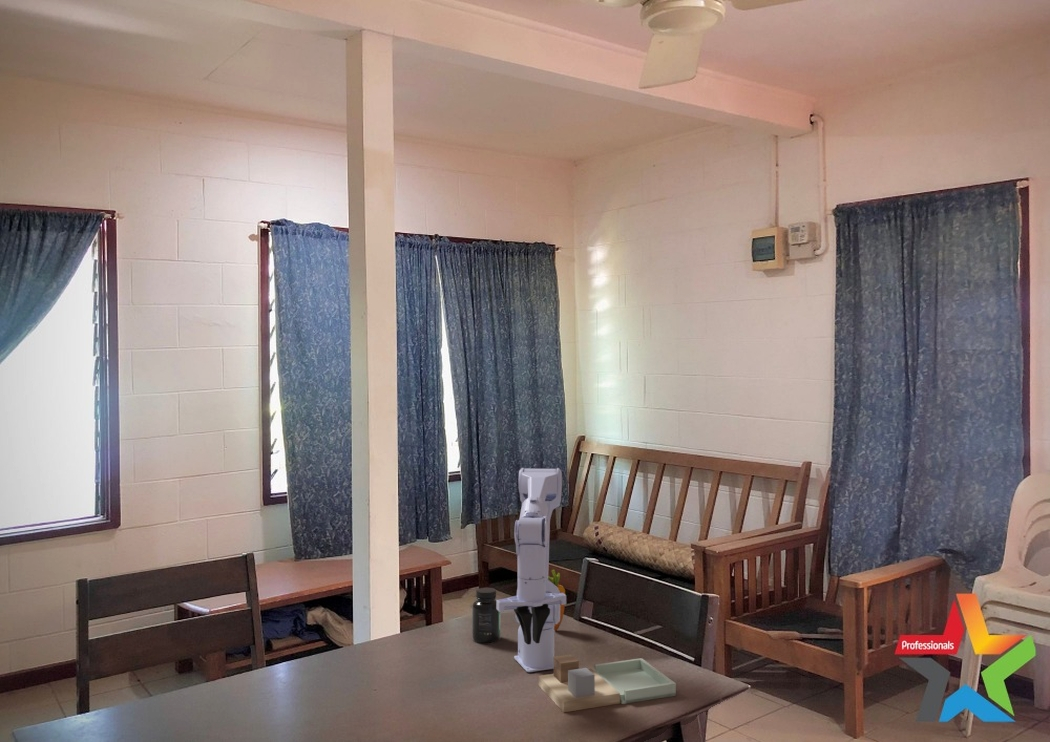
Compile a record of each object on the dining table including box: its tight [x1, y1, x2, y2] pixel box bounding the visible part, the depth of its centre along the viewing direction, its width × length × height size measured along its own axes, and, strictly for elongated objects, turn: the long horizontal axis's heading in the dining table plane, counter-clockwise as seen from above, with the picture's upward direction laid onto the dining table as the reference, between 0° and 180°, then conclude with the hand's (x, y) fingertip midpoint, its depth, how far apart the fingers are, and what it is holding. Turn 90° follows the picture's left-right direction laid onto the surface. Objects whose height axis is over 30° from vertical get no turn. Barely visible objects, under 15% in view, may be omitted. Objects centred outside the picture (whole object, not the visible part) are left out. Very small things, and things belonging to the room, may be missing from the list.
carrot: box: [548, 569, 566, 632], centre depth 211 cm, size 5×5×15 cm
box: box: [594, 657, 677, 705], centre depth 176 cm, size 15×12×2 cm
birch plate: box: [538, 668, 621, 713], centre depth 172 cm, size 14×12×2 cm
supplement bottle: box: [471, 587, 502, 645], centre depth 205 cm, size 7×7×12 cm
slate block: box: [568, 667, 595, 698], centre depth 168 cm, size 4×4×4 cm
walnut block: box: [553, 654, 580, 683], centre depth 176 cm, size 4×4×4 cm
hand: (531, 642), depth 173 cm, fingers closed
